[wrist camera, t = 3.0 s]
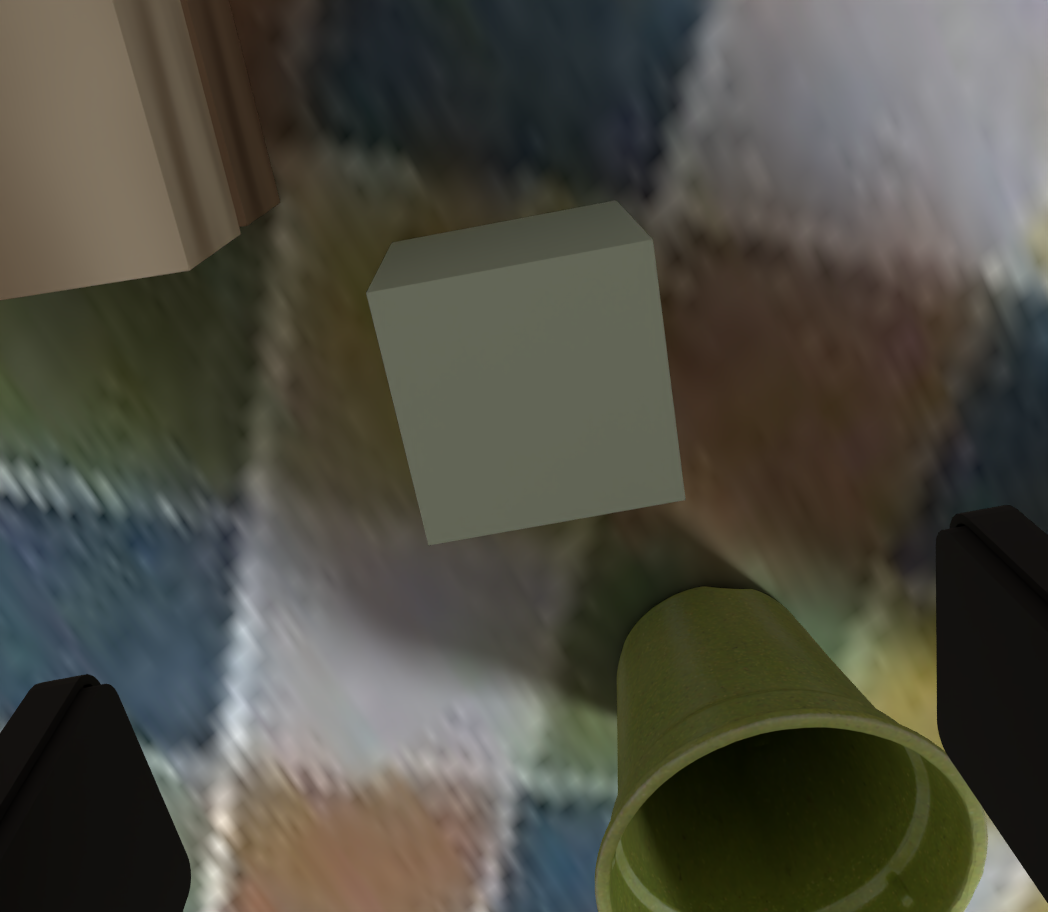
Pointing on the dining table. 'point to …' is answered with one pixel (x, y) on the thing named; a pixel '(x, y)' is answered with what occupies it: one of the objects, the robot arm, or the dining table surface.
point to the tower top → (104, 146)
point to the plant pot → (772, 777)
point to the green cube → (529, 371)
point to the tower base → (231, 107)
